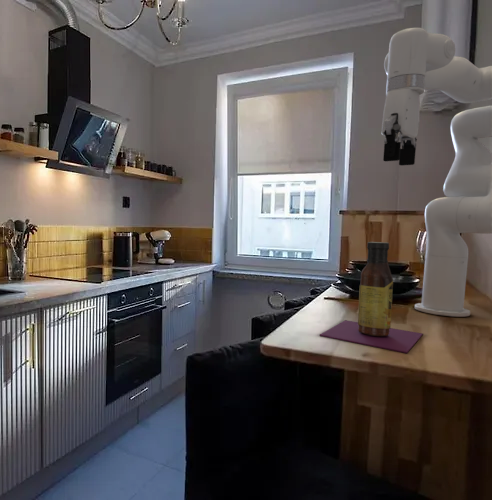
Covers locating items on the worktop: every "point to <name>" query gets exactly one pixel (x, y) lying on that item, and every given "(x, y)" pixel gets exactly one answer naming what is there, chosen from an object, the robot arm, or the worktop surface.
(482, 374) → the worktop surface
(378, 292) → the sauce bottle
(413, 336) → the cloth
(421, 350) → the worktop surface
